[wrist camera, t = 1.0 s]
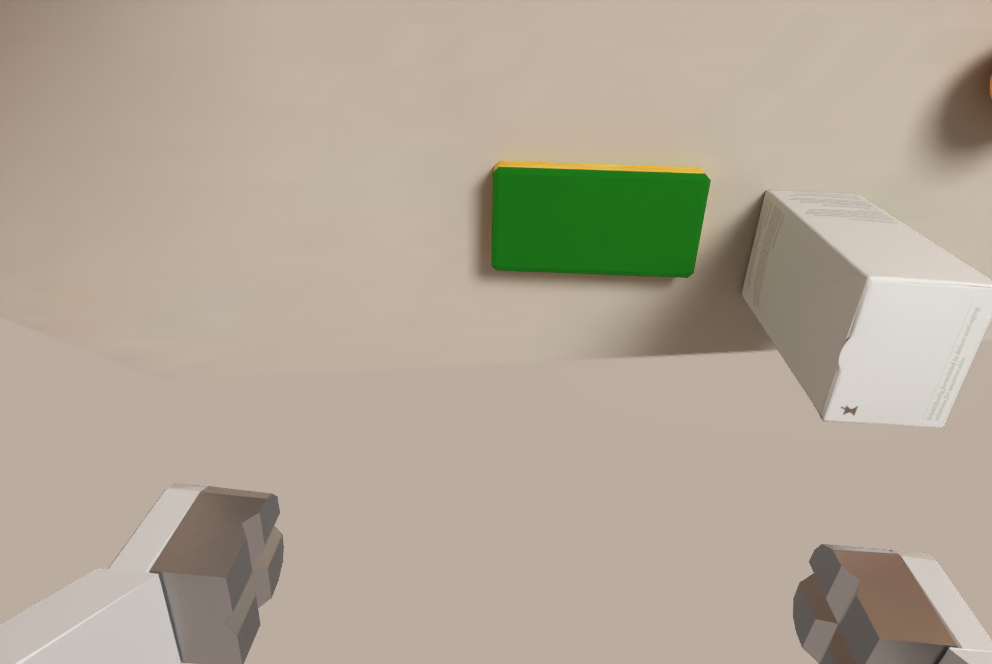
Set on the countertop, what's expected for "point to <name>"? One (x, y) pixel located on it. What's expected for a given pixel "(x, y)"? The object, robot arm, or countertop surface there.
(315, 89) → the countertop surface
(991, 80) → the ball
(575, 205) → the dish sponge
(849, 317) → the skincare box
